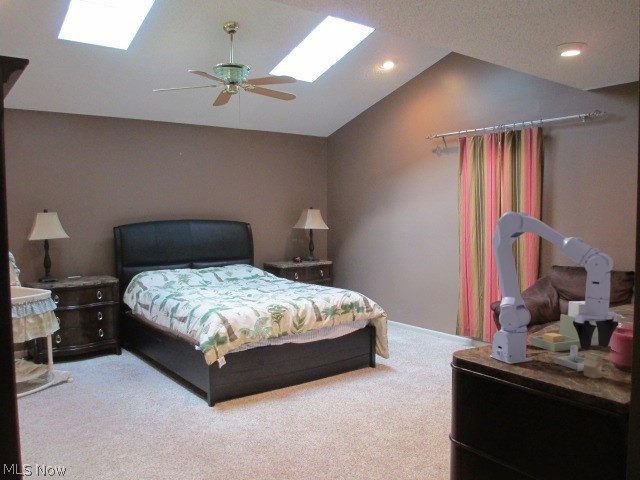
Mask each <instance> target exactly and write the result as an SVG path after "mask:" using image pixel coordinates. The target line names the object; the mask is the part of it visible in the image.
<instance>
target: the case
mask: <svg viewBox="0 0 640 480" xmlns="http://www.w3.org/2000/svg"><path fill="white" fill-rule="evenodd" d="M559 319H560V320H559V333H558V334H560V335H564V339H563V342H558V343H552V342H549V341H545V340H543V335H539V336H531V337H530V345H531V346H533V347H538V348H540V349H544V350H548V351H551V352H554V353H555V352H563V351H570V349H571V345H576V346H578V349H582V348H581V346H580V341H579V337H578V334H577V331H576V329H575V327H574V325H573V321H575V317H573V316H568V314H562V313H561V314H560V318H559ZM568 336H569V337H568Z"/></svg>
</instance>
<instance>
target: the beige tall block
mask: <svg viewBox="0 0 640 480" xmlns="http://www.w3.org/2000/svg"><path fill="white" fill-rule="evenodd" d="M584 358H585V359H584V371H583V376H584V377H588V378H591V379H600V378H602V369H603V368H602V367H603V355H602V354H599V353H598V354H597V353H595V352H587V353H584Z"/></svg>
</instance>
